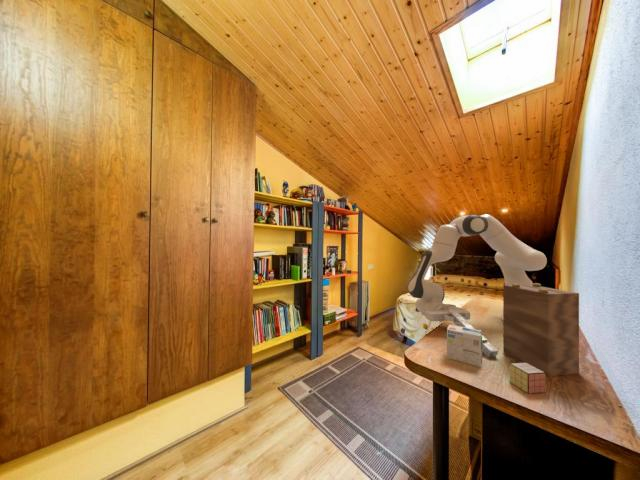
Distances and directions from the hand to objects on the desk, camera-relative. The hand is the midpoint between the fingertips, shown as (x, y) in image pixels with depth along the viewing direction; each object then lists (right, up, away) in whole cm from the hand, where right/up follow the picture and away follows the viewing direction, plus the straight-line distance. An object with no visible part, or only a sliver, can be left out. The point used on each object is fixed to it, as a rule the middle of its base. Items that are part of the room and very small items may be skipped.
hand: (459, 319), depth 101 cm
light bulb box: (-9, -8, -18) cm, 22 cm away
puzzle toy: (-1, -8, -34) cm, 35 cm away
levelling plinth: (+16, -8, -20) cm, 27 cm away
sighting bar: (+1, -4, -6) cm, 7 cm away
